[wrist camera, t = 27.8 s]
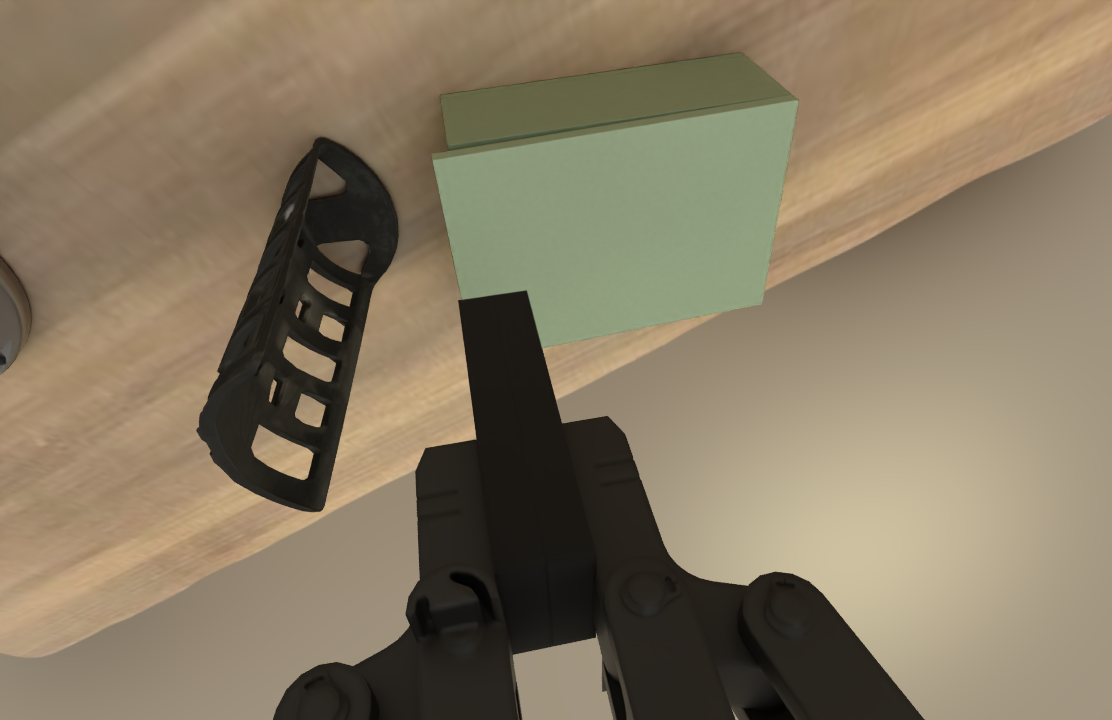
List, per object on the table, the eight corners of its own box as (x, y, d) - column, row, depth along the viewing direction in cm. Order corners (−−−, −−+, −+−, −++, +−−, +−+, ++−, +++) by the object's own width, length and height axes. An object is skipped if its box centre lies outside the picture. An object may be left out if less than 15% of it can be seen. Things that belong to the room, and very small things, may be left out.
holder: (425, 268, 48) (401, 499, 33) (327, 293, 49) (262, 529, 34) (358, 124, 40) (289, 341, 26) (243, 157, 41) (114, 385, 27)
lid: (473, 354, 44) (474, 362, 44) (430, 153, 34) (432, 160, 34) (757, 297, 46) (762, 304, 46) (792, 94, 37) (799, 99, 36)
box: (475, 283, 50) (485, 344, 45) (439, 94, 40) (447, 144, 35) (720, 242, 52) (757, 296, 46) (742, 51, 42) (792, 93, 37)
